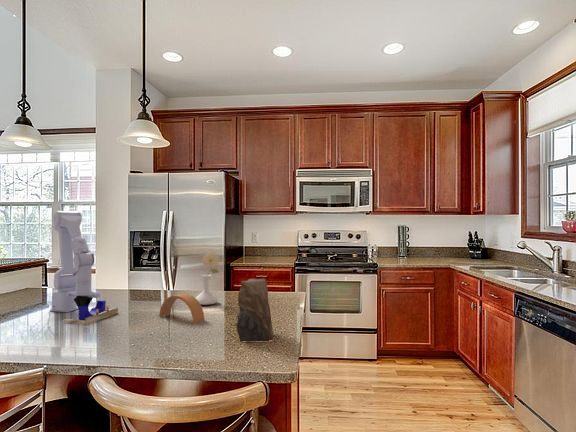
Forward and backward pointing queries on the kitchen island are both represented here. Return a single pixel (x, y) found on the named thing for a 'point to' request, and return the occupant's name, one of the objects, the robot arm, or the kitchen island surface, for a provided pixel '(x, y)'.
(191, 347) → the kitchen island surface
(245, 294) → the dark grey rock
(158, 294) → the kitchen island surface
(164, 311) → the arch
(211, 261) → the flower in vase
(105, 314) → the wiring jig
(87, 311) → the blue pipe clamp half
